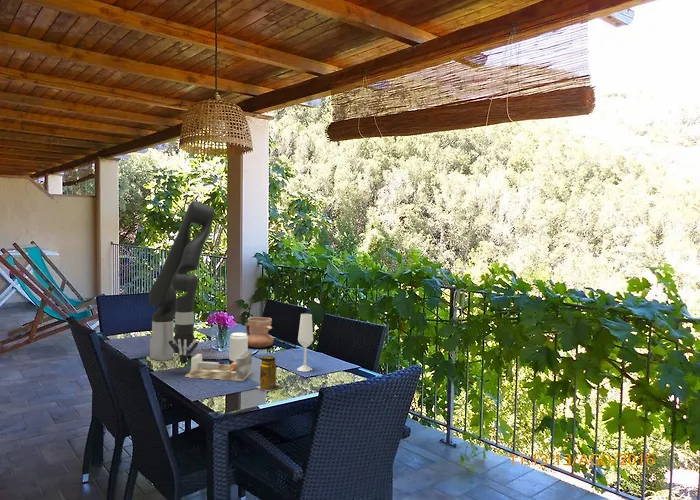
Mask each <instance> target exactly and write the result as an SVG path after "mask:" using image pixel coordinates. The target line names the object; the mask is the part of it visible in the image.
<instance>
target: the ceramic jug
mask: <svg viewBox="0 0 700 500" xmlns="http://www.w3.org/2000/svg"><path fill="white" fill-rule="evenodd" d="M272 323H273V320H272V318H271V317H264V316H263V317H262V316H251V317H248V318H247V323H246V325H245V333H246V334H247V336H248V347H250V348H253V347H254V348H255V349H264V348H268V347H270V346H271V345H273V344H274V342H275V341H274V340H275V339H274V337H273V336H272V335H270V333H269V331H270V330H272V329H273V327H272Z"/></svg>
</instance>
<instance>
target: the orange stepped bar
mask: <svg viewBox="0 0 700 500" xmlns="http://www.w3.org/2000/svg"><path fill="white" fill-rule="evenodd" d="M230 365H231V370H230V372H232V371H233V372H236V362H233V361H232V362H231V363H230Z"/></svg>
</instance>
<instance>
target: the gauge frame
mask: <svg viewBox="0 0 700 500" xmlns="http://www.w3.org/2000/svg"><path fill="white" fill-rule="evenodd" d="M252 357H253V351H245V352H243V353H242V354H241V355H240V356H239V357H238V358H237V359H236V372H233V371H232V372H230V370H231V364H221V363H219V368H217V369H215V368H201V369H200V370H191V369H190V370H189V371H188V372H187V373H186V374H184V378H185V377H189V378H188V379H198V378H203V379H202V380H214V379H220V380H219V381H230V380H231V381H232V382H244V381H245V380H246V379H247V378H248V377H249V376H250V375H251V374H252V363H253V362H252V360H253V359H252Z"/></svg>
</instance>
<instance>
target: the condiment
mask: <svg viewBox="0 0 700 500" xmlns="http://www.w3.org/2000/svg"><path fill="white" fill-rule="evenodd" d="M259 368H260V373H259V374H260V375H259V379H260V380H259V386H256V388H257V389H259V390H261V391H262V390H263V391H265V392H270V391H274V390H277V389H280V388H283V387H284V385H280V384H277V363H276V357H275V356H273V355H264V356H262V357H261V362H260V367H259Z"/></svg>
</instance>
